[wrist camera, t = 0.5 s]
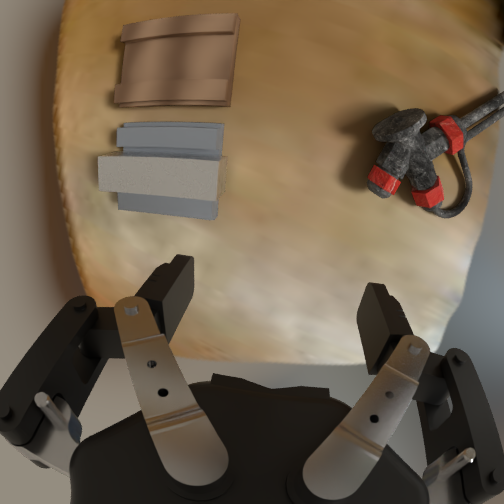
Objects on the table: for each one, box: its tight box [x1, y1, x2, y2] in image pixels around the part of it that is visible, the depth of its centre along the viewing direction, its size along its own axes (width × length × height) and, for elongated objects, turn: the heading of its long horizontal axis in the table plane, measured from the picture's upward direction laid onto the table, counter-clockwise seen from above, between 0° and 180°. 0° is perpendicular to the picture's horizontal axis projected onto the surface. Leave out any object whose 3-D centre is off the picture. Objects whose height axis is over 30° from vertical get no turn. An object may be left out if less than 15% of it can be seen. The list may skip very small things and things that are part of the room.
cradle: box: [114, 13, 240, 107], centre depth 25 cm, size 13×11×3 cm
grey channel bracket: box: [117, 122, 224, 220], centre depth 31 cm, size 12×11×3 cm
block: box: [98, 151, 228, 201], centre depth 29 cm, size 14×4×4 cm, turn 84°
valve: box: [367, 91, 504, 218], centre depth 25 cm, size 6×26×15 cm
